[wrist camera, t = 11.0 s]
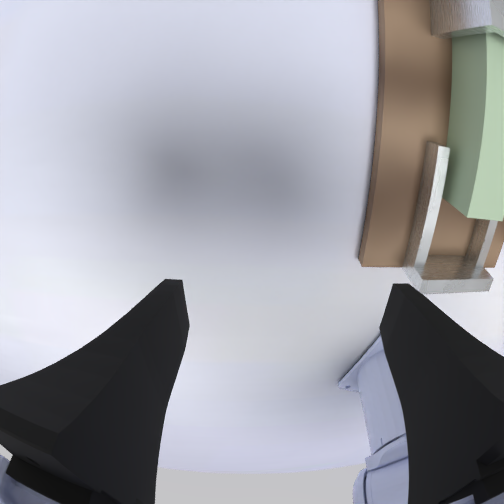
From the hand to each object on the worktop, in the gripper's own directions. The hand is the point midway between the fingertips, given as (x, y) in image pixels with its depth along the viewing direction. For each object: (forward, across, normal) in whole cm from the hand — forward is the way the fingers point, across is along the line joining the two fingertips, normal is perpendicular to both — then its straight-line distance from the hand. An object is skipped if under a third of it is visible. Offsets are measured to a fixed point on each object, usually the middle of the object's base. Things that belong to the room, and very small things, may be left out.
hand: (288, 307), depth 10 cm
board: (+9, -11, -7) cm, 17 cm away
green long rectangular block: (+8, -11, -8) cm, 16 cm away
